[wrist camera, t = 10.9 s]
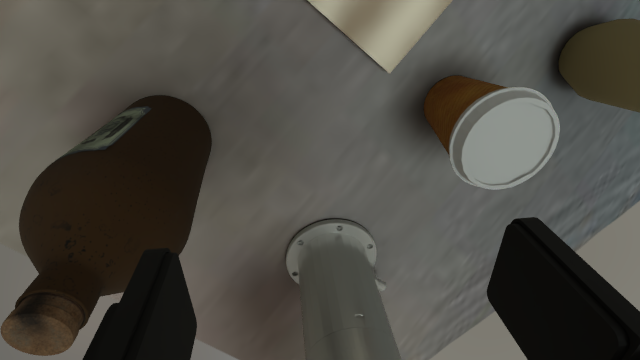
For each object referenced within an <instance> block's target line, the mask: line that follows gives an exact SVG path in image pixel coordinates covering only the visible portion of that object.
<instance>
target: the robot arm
mask: <svg viewBox="0 0 640 360" xmlns="http://www.w3.org/2000/svg"><path fill="white" fill-rule="evenodd" d="M376 259H377V250H376V245H375V242H374V240H373V238H372V236H371V235H370V233H369V232H368V231H367V230H366V229H365V228H364V227H362V226H360V225H359V224H357V223H354V222H351V221H347V220H342V219H331V220H323V221H320V222H317V223H314V224H312V225H310V226H307V227H306V228H304V229H303V230H301V231H300V232H299V233H298V234H297V235H296V236H295V237H294V238H293V240H292V241H291V242H290V244H289V247H288V249H287V253H286V266H287V270H288V272H289V275H290V276H291V278H292V279H293V280H294V281H295V282H296V283H297V284H299V286H300V298H301V310H302V322H303V335H304V347H305V359H306V360H402V359H401V356H400V353H399V350H398V347H397V344H396V342H395V339H394V336H393V333H392V330H391V327H390V324H389V321H388V318H387V315H386V312H385V309H384V305H383V302H382V299H381V295H380V293H379V291H384V290H385V289H386V283H385V282H383V281H382V280H380V279H377V278H376V275H375V272H374V269H373V267H374V265H375V262H376ZM487 296H488V299H489V301H490V303H491V305H492V306H493V308H494V309H495V311H496V312H497V314H498V315H499V317H500V318H501V319H502V321H503V323H504V324H505V326H506V327H507V329H508V330H509V332H510V333H511V335H512V336H513V338H514V339H515V341H516V343H517V344H518V345H519V347H520V349H521V350H522V352H523V353H524V354H525V356H526V357H527V359H528V360H640V311H638V310H637V309H636V308H635V307H634V306H633V305H632V304H631V303H630V302H629V301H628V300H626V299H625V298H624V297H623V296H622V295H621V294H620V293H619V292H618V291H617V290H616V289H614V288H613V287H612V286H611V285H610V284H609V283H608V282H607V281H606V280H605V279H604V278H603V277H601V276H600V275H599V274H598V273H597V272H596V271H595V270H594V269H593V268H592V267H591V266H590V265H588V264H587V263H586V262H585V261H584V260H583V259H582V258H581V257H579V255H578V254H576V253H575V252H574V251H573V250H572V249H571V248H570V247H569V246H568V245H567V244H566V243H565V242H563V241H562V240H561V239H560V238H559V237H558V236H557V235H556V234H555V233H554V232H553V231H551V230H550V229H549V228H548V227H547V226H546V225H545V224H544V223H543V222H542V221H541V220H539V219H538V218H535V217H531V218H519V219H514V220H513V221H512V222H511V224H509V225H508V226H507V227H506V230H505V233H504V236H503V239H502V243H501V246H500V249H499V252H498V256H497V259H496V262H495V265H494V269H493V272H492V275H491V278H490V282H489V285H488V288H487ZM196 328H197V322H196V317H195V313H194V310H193V306H192V303H191V299H190V295H189V292H188V288H187V285H186V281H185V278H184V274H183V271H182V267H181V263H180V260H179V256H178V254H177V253H171V251H170V249H169V248H158V249H146V250H145V251H144V252H143V254H142V256H141V258H140V260H139V262H138V264H137V266H136V268H135V271H134V273H133V275H132V277H131V279H130V281H129V283H128V285H127V288H126V290H125V292H124V294H123V296H122V298H121V300H120V302H119V303H114V304H112V305H111V306H110V307H109V309H108V310H107V312H106V314H105V316H104V318H103V320H102V322H101V324H100V326H99V328H98V330H97V332H96V334H95V336H94V338H93V340H92V342H91V344H90V346H89V348H88V350H87V352H86V354H85V356H84V358H83V360H190V358H191V354H192V349H193V344H194V340H195V335H196Z"/></svg>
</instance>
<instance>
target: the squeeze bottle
mask: <svg viewBox="0 0 640 360" xmlns="http://www.w3.org/2000/svg"><path fill="white" fill-rule="evenodd" d="M559 72H560V73H561V75H562V76H563V78H564V79H565V80H566V81H567V82H568V84H569V85H570V86H571V87H572V88H573V89H574V91H575V92H576V93H577V94H578V95H579V96H582V97H584V98H586V99H589V100H592V101H596V102H600V103H604V104H608V105H612V106H616V107H620V108H624V109H628V110H632V111H636V112H640V20H636V19H617V20H613V21H610V22H606V23H602V24H598V25H594V26H590V27H587V28H585V29H583V30H581V31H579V32H577V33H576V34H575V35H574V36H573V37H572V38H571V39H570V40H568V42H567V43H566V45H565V47H564V48H563V50H562V51H561V55H560V58H559Z"/></svg>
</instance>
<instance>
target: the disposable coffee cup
mask: <svg viewBox="0 0 640 360" xmlns="http://www.w3.org/2000/svg"><path fill="white" fill-rule="evenodd" d="M424 114H425V117H426V119H427V121H428V122H429V124H430V125H431V127H432V129H433V130H434V132H435V133H436V135H437V137H438V138H439V140H440V141H441V143H442V145H443V146H444V148H445V149H446V151H447V152H448V154H449V158H450V162H451V165H452V167H453V169H454V171H455V173H456V174H457V175H458V176H459V177H460V178H461V179H462V180H463V181H465V182H467V183H469V184H471V185H474V186H479V187H482V188H486V189H494V190H498V189H504V188H509V187H513V186H515V185H518V184H520V183H522V182H524V181H526V180H527V179H529V178H531V177H532V176H533V175H535V174H536V173H537V172H538V171H539V170H540V169H541V168H542V167H543V166H544V165H545V164H546V162H547V161H548V160H549V159H550V157H551V155H552V153H553V152H554V150H555V148H556V145H557V142H558V139H559V132H560V126H559V120H558V116H557V114H556V113H555V111H554V109H553V107H552V105H551V103H550V102H549V100H548V99H547V98H546V97H545V96H544V95H542V94H541V93H540V92H538V91H535V90H533V89H530V88H524V87H509V88H508V87H503V86H499V85H495V84H491V83H487V82H483V81H479V80H475V79H471V78H467V77H463V76H450V77H447V78H444V79H442V80H440V81H439V82H438V83H436V84H435V85H434V86H433V87H432V88H431V90H430V91H429V92H428V94H427V96H426V99H425V102H424Z"/></svg>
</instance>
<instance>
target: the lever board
mask: <svg viewBox="0 0 640 360" xmlns="http://www.w3.org/2000/svg"><path fill="white" fill-rule="evenodd" d="M307 1H309V2H310V3H311V4H312V5H313V6H314V7H315V8H316V9H318V10H319V11H320V12H321V13H322V14H323V15H324V16H325V17H326V18H328V19H329V20H330V21H331V22H332V23H333V24H334V25H335V26H337V27H338V28H339V29H340V30H341V31H342V32H343V33H344V34H346V35H347V36H348V37H349V38H350V39H351V40H352V41H353V42H355V43H356V44H357V45H358V46H359V47H360V48H361V49H362V50H363V51H365V52H366V53H367V54H368V55H369V56H370V57H371V58H372V59H374V60H375V61H376V62H377V63H378V64H379V65H380V66H381V67H383V68H384V69H385V70H386V71H387V72H388V73H389V74H390V73H391V72H392V70H393V69H394V68H395V67H396V66H397V65H398V63H399V62H400V61H401V60H402V59H403V58H404V56H405V55H406V54H407V53H408V52H409V51H410V49H411V48H412V47H413V46H414V45H415V44H416V42H417V41H418V40H419V39H420V38H421V37H422V35H423V34H424V33H425V32H426V31H427V30H428V28H429V27H430V26H431V25H432V24H433V23H434V21H435V20H436V19H437V18H438V17H439V16H440V14H441V13H442V12H443V11H444V10H445V9H446V7H447V6H448V5H449V4H450V3H451V2H452V0H307Z"/></svg>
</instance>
